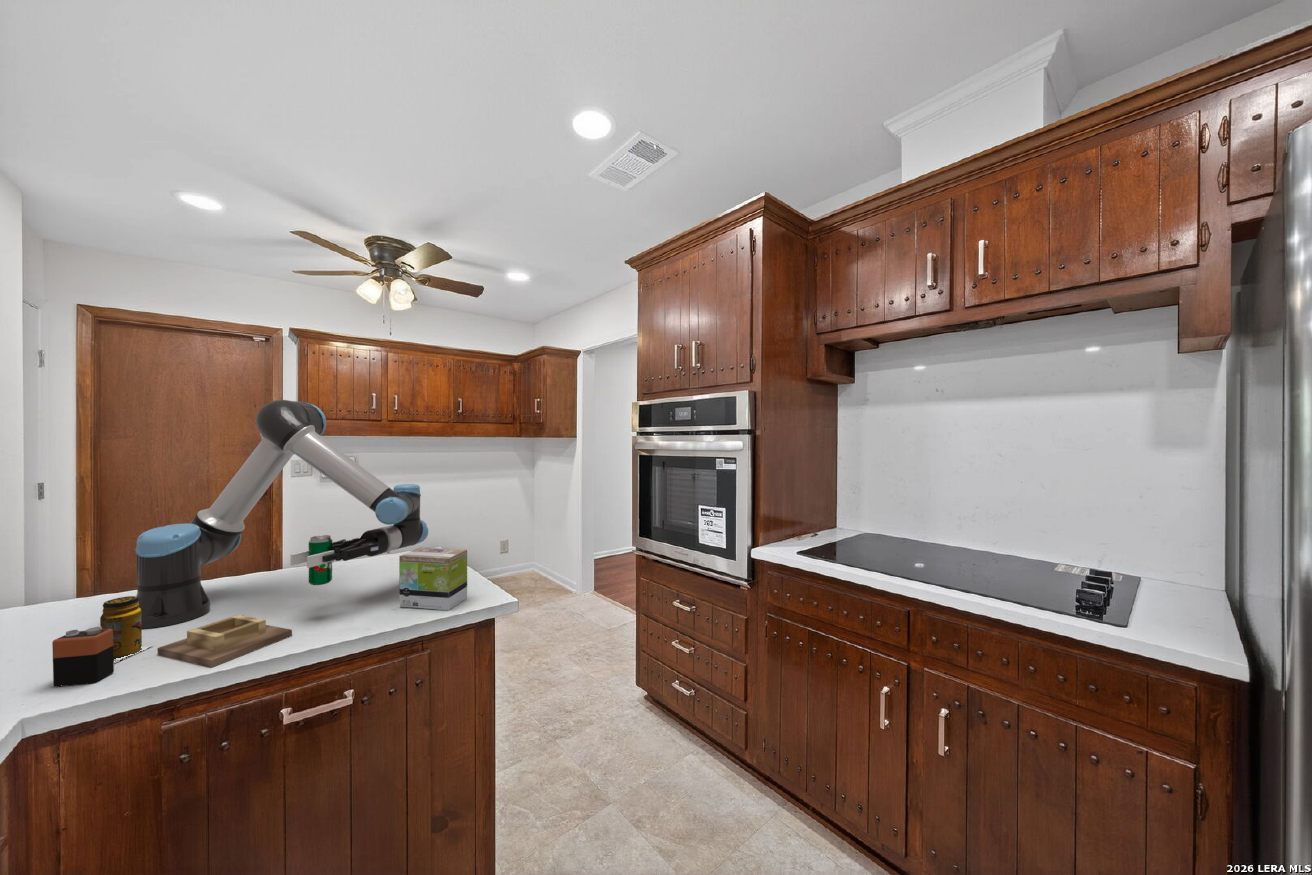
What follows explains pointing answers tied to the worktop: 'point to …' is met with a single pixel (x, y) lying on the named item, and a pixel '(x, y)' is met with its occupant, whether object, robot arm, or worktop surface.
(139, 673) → the worktop surface
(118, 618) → the condiment
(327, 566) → the soda can
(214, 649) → the collar board
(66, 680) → the battery
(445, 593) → the tea box
